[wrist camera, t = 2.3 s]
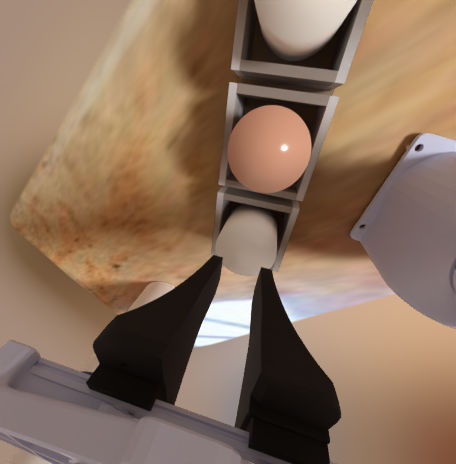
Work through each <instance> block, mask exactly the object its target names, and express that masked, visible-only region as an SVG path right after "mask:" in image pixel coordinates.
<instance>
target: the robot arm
mask: <svg viewBox="0 0 456 464" xmlns="http://www.w3.org/2000/svg"><path fill="white" fill-rule="evenodd" d="M419 144H420V148H419V149H418V150H417V151H415V147H416V146H417V145H419ZM362 224H365V225H364V226H363V227H360V225H362ZM350 237H351V238H352V239H354V240H357V241H360V243H361V244H362V246H363V247H364V249H365V251H366V252H367V254H368V255H369V257H370V259H371V260H372V262H373V263H374V265H375V267H376V268H377V270H378V271H379V273H380V275H381V276H382V278H383V279H384V281H385V282H386V284H387V285H388V286H389V287H390V288H391V289H392V290H393V291H394V292H395V293H396V294H397V295H398V296H399V297H400V298H401V299H403V300H404V301H405V302H406V303H408V304H409V305H410V306H411V307H413V308H414V309H416V310H417V311H419V312H420V313H422V314H424V315H425V316H427V317H429V318H431V319H433V320H435V321H437V322H439V323H441V324H443V325H446V326H449V327H451V328H455V329H456V140H452V139H449V138H445V137H441V136H438V135H434V134H430V133H421V134H419V135H417V136H416V137H415V138H414V140H413V141H412V143H411V144H410V146H409V147H408V149H407V150H406V152H405V153H404V154H403V156H402V157H401V159H400V160H399V162H398V163H397V165H396V166H395V168H394V169H393V170H392V172H391V173H390V175H389V176H388V178H387V179H386V181H385V182H384V184H383V185H382V186H381V188H380V189H379V191H378V192H377V194H376V195H375V197H374V198H373V200H372V201H371V203H370V204H369V205H368V207H367V208H366V210H365V211H364V213H363V214H362V216H361V217H360V219H359V220H358V221H357V223H356V224H355V226H354V227H353V229H352V230H351V232H350ZM222 261H223V257H220V256H216V255H213V256H212V257H211V258H210V259H209V260H208V261H207V262H206V263H205V264H204V265H203V266H202V267H201V268H200V269H199V270H197V271H196V272H195V273H194V274H193V275H192V276H190V277H189V278H188V279H187V280H185V281H184V282H183V283H181V284H180V285H178V286H177V287H175V288H174V289H172V290H171V291H169V292H167V293H166V294H164V295H162V296H161V297H159V298H157V299H155V300H153V301H151V302H149V303H147V304H145V305H142V306H140V307H138V308H136V309H133V310H131V311H128V312H125V313H123V314H120V315H117V316H116V317H115V318H114V319H113V320H112V321H111V322H110V323H109V324H108V325H107V326H106V328H105V329H104V330H103V331H102V332H101V334H100V335H99V336H98V337H97V338H96V340H95V341H94V343H93V349H94V352H95V354H96V357H97V359H98V361H99V365H98V367H97V368H96V369H95V371H94V372H93V373H92V375H88V374H85V373H83V372H80V371H77V370H74V369H71V368H69V367H66V366H63V365H60V364H57V363H55V362H52V361H49V360H46V359H44V358H41V357H40V354H39V353H38V352H37V350H36V349H34V348H32V347H31V346H28V345H25V344H22V343H20V342H17V341H14V340H10V341H8V342H7V343H6V344H5V345H4V346H2V347H1V348H0V440H2V441H4V442H7V443H9V444H11V445H13V446H15V447H18V448H20V449H22V450H24V451H26V452H28V453H30V454H33V455H35V456H37V457H39V458H41V459H43V460H45V461H48V462H50V463H52V464H252V463H254V464H336V463H332V462H330V459H329V452H328V445H327V444H329V443H330V437H329V431H328V429H330V428H331V427H332V426H333V425H335V424H336V423H337V422H338V421H339V419H340V418H341V411H340V406H339V401H338V398H337V395H336V391H335V388H334V385H333V383H332V381H331V380H330V379H329V377H328V376H327V375H326V374H325V373H324V371H323V370H322V369H321V368H320V366H319V365H318V364H317V362H316V361H315V360H314V358H313V357H312V355H311V354H310V353H309V351H308V350H307V348H306V347H305V345H304V344H303V342H302V340H301V339H300V337H299V336H298V334H297V332H296V331H295V329H294V327H293V325H292V323H291V321H290V320H289V318H288V316H287V313H286V311H285V309H284V307H283V304H282V302H281V300H280V297H279V294H278V291H277V289H276V285H275V282H274V278H273V274H272V270H271V269H268V268H264V267H261V269H260V272H259V276H258V279H257V283H256V286H255V290H254V295H253V301H252V309H251V323H250V339H249V347H248V353H247V359H246V365H245V372H244V378H243V383H242V389H241V395H240V400H239V406H238V411H237V417H236V423H235V427H233V426H230V425H227V424H224V423H221V422H219V421H216V420H213V419H210V418H208V417H205V416H202V415H199V414H196V413H194V412H191V411H188V410H185V409H183V408H180V407H177V406H174V404H175V401H176V398H177V394H178V392H179V389H180V385H181V382H182V379H183V376H184V373H185V370H186V367H187V364H188V361H189V358H190V355H191V352H192V349H193V346H194V343H195V340H196V337H197V335H198V332H199V329H200V327H201V324H202V322H203V320H204V318H205V315H206V313H207V311H208V309H209V307H210V304H211V302H212V300H213V298H214V295H215V293H216V290H217V287H218V284H219V281H220V275H221V268H222ZM134 418H135V419H134ZM136 419H138V420H136ZM248 461H249V462H248ZM250 462H252V463H250Z"/></svg>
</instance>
